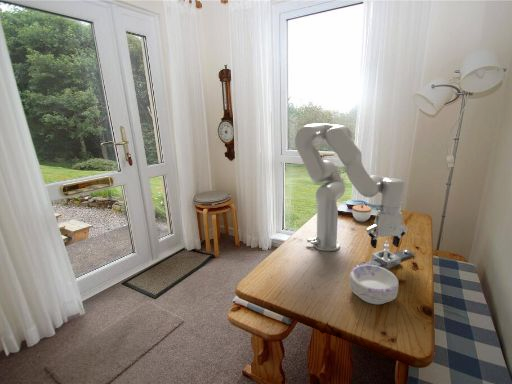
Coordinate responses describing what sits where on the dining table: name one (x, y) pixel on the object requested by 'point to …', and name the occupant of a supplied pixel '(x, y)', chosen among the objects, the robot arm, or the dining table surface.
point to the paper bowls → (374, 284)
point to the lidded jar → (361, 212)
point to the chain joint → (394, 258)
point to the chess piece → (386, 251)
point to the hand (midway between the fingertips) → (384, 246)
